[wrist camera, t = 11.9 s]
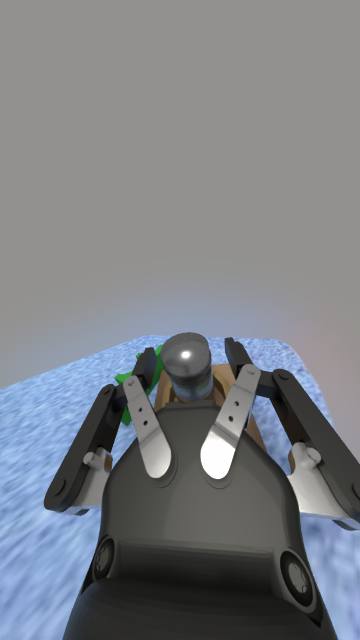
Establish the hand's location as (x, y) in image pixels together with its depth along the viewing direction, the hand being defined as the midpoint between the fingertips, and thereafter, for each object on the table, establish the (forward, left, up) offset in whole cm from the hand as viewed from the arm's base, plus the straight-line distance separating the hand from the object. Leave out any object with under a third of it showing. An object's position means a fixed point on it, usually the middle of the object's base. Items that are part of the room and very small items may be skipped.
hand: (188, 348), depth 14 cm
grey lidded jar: (0, -2, -8) cm, 8 cm away
